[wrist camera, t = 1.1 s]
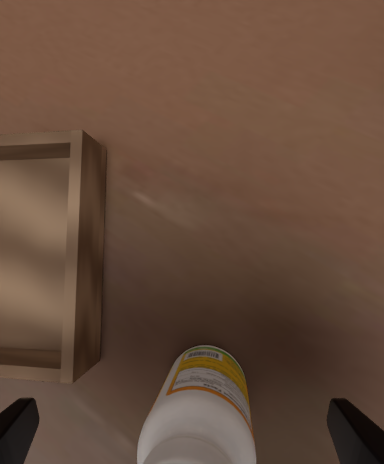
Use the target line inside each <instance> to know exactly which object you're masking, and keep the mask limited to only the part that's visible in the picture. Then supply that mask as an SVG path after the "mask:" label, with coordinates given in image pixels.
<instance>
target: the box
mask: <svg viewBox="0 0 384 464" xmlns="http://www.w3.org/2000/svg"><path fill="white" fill-rule="evenodd" d="M106 159H107V150H106V149H105V148H104V147H103V146H101V145H100V144H99V143H98V142H97V141H95V140H94V139H93V138H92V137H90V136H89V135H88V134H87V133H86V132H84V131H83V130H72V131H54V132H37V133H19V134H1V135H0V378H12V379H23V380H35V381H47V382H58V383H70V384H73V383H74V382H75V381H76V380H77V379H78V378H80V377H81V376H82V375H83V374H84V373H86V372H87V371H88V370H89V369H90V368H92V367H93V366H94V365H95V364H96V363H97V362H99V361H100V339H101V309H102V279H103V249H104V219H105V189H106Z"/></svg>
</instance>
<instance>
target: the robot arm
mask: <svg viewBox="0 0 384 464" xmlns="http://www.w3.org/2000/svg"><path fill="white" fill-rule="evenodd" d="M38 424H39V414H38V409H37V405H36V401H35V399H34V398H20V399H18V400H16V401H15V402H14V403H12V404H11V405H10V406H9V407H7V408H6V409H5V410H4V411H2V412H1V413H0V464H24V461H25V458H26V456H27V453H28V451H29V448H30V446H31V443H32V441H33V438H34V435H35V433H36V430H37V428H38ZM327 425H328V428H329V431H330V434H331V437H332V440H333V443H334V446H335V449H336V452H337V455H338V458H339V461H340V464H384V431H383V430H382V429H381V428H380V427H379V426H377V425H376V424H375V423H374V422H373V421H372V420H370V419H369V418H368V417H367V416H366V415H365V414H363V413H362V412H361V411H360V410H359V409H358V408H356V407H355V406H354V405H353V404H352V403H351V402H349V401H348V400H347V399H344V398H332V399H331V400H330V404H329V409H328V414H327Z"/></svg>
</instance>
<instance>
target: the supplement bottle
mask: <svg viewBox="0 0 384 464" xmlns="http://www.w3.org/2000/svg"><path fill="white" fill-rule="evenodd" d="M137 464H256V450H255V443H254V436H253V428H252V421H251V413H250V406H249V398H248V390H247V384H246V379H245V376H244V373H243V371H242V369H241V367H240V365H239V364H238V362H237V361H236V360H235V359H234V358H233V357H232V356H231V355H230V354H229V353H228V352H226V351H224V350H222V349H220V348H218V347H214V346H210V345H201V346H195V347H192V348H190V349H188V350H186V351H185V352H183V353H182V354H181V355H180V356H179V357H178V358H177V359H176V361H175V362H174V364H173V366H172V367H171V369H170V372H169V374H168V376H167V378H166V380H165V382H164V384H163V386H162V388H161V390H160V392H159V394H158V396H157V398H156V400H155V402H154V404H153V406H152V408H151V410H150V412H149V414H148V416H147V418H146V420H145V423H144V425H143V428H142V430H141V434H140V437H139V441H138V448H137Z"/></svg>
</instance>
